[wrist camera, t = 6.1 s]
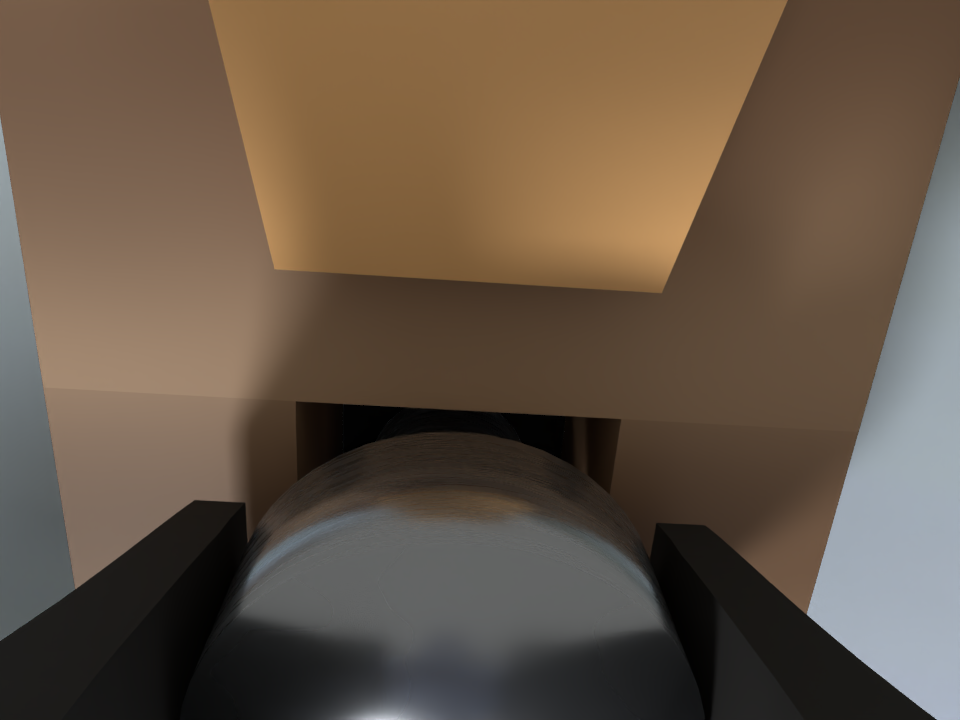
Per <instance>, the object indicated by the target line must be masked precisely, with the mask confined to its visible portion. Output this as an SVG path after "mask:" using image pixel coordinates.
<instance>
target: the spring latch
mask: <svg viewBox="0 0 960 720" xmlns="http://www.w3.org/2000/svg"><path fill="white" fill-rule="evenodd" d="M208 1H209V5H210V9H211V13H212V17H213V21H214V26H215V30H216V34H217V38H218V42H219V46H220V50H221V54H222V58H223V62H224V66H225V70H226V74H227V78H228V82H229V86H230V91H231V95H232V99H233V103H234V107H235V111H236V115H237V119H238V123H239V127H240V131H241V135H242V139H243V143H244V147H245V151H246V156H247V160H248V164H249V168H250V172H251V176H252V180H253V184H254V188H255V192H256V196H257V200H258V204H259V208H260V212H261V217H262V221H263V225H264V229H265V233H266V237H267V241H268V245H269V249H270V253H271V257H272V261H273V265H274V269H277V270H293V271H310V272H326V273H342V274H358V275H375V276H391V277H407V278H423V279H440V280H456V281H472V282H488V283H504V284H521V285H537V286H553V287H569V288H586V289H602V290H618V291H634V292H651V293H662V291H663V289H664V287H665V284H666V282H667V280H668V277H669V275H670V273H671V270H672V268H673V266H674V263H675V261H676V259H677V256H678V254H679V252H680V249H681V247H682V245H683V243H684V240H685V238H686V236H687V233H688V231H689V229H690V226H691V224H692V222H693V219H694V217H695V215H696V212H697V210H698V208H699V205H700V203H701V201H702V198H703V196H704V194H705V191H706V189H707V187H708V184H709V182H710V180H711V177H712V175H713V173H714V171H715V168H716V166H717V164H718V161H719V159H720V157H721V154H722V152H723V150H724V147H725V145H726V143H727V140H728V138H729V136H730V133H731V131H732V129H733V126H734V124H735V122H736V119H737V117H738V115H739V112H740V110H741V108H742V105H743V103H744V101H745V99H746V96H747V94H748V92H749V89H750V87H751V85H752V82H753V80H754V78H755V75H756V73H757V71H758V68H759V66H760V64H761V61H762V59H763V57H764V54H765V52H766V50H767V47H768V45H769V43H770V40H771V38H772V36H773V33H774V31H775V29H776V27H777V24H778V22H779V20H780V17H781V15H782V13H783V10H784V8H785V6H786V3H787V1H788V0H208Z"/></svg>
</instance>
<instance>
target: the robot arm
mask: <svg viewBox="0 0 960 720" xmlns="http://www.w3.org/2000/svg"><path fill="white" fill-rule="evenodd" d="M247 544H248V540H247V522H246V503H245V502H225V501H204V500H194V501H193V502H191V503H190V504H188V505H187V506H185V507H184V508H183V509H181V510H180V511H179V512H177V513H176V514H175V515H173V516H172V517H171V518H169V519H168V520H167V521H165V522H164V523H163V524H161V525H160V526H159V527H158V528H156V529H155V530H154V531H152V532H151V533H150V534H148V535H147V536H146V537H145V538H143V539H142V540H141V541H139V542H138V543H137V544H135V545H134V546H133V547H131V548H130V549H129V550H128V551H126V552H125V553H124V554H122V555H121V556H120V557H118V558H117V559H116V560H114V561H113V562H112V563H110V564H109V565H108V566H106V567H105V568H104V569H102V570H101V571H99V572H98V573H97V574H95V575H94V576H93V577H91V578H90V579H89V580H87V581H86V582H85V583H83V584H82V585H81V586H79V587H78V588H77V589H75V590H74V591H73V592H71V593H70V594H68V595H67V596H66V597H64V598H63V599H62V600H60V601H59V602H57V603H56V604H54V605H53V606H51V607H50V608H48V609H47V610H45V611H44V612H42V613H41V614H40V615H38V616H37V617H35V618H34V619H32V620H31V621H29V622H28V623H26V624H25V625H23V626H22V627H20V628H19V629H17V630H16V631H14V632H13V633H12V634H10V635H9V636H7V637H6V638H4V639H3V640H1V641H0V720H180V714H181V708H182V704H183V701H184V698H185V695H186V692H187V689H188V686H189V683H190V680H191V678H192V676H193V673H194V671H195V668H196V666H197V663H198V661H199V659H200V656H201V654H202V651H203V649H204V647H205V644H206V642H207V639H208V637H209V635H210V632H211V630H212V627H213V625H214V622H215V620H216V618H217V615H218V613H219V610H220V608H221V606H222V603H223V601H224V598H225V596H226V593H227V591H228V589H229V586H230V584H231V581H232V579H233V577H234V574H235V572H236V569H237V567H238V565H239V562H240V560H241V557H242V555H243V552H244V550H245V548H246V545H247ZM650 562H651V565H652V567H653V570H654V573H655V575H656V578H657V580H658V583H659V586H660V588H661V591H662V594H663V596H664V599H665V601H666V604H667V607H668V609H669V612H670V615H671V617H672V620H673V622H674V625H675V628H676V630H677V633H678V636H679V638H680V641H681V644H682V646H683V649H684V651H685V654H686V657H687V659H688V662H689V665H690V667H691V670H692V672H693V675H694V678H695V680H696V683H697V686H698V688H699V692H700V696H701V701H702V705H703V710H704V714H705V720H937V719H935V718H934V717H932V716H931V715H930V714H928V713H927V712H926V711H924V710H923V709H922V708H920V707H919V706H918V705H917V704H915V703H914V702H913V701H911V700H910V699H909V698H908V697H906V696H905V695H904V694H903V693H901V692H900V691H899V690H897V689H896V688H895V687H894V686H892V685H891V684H890V683H889V682H887V681H886V680H885V679H883V678H882V677H881V676H880V675H878V674H877V673H876V672H874V671H873V670H872V669H871V668H869V667H868V666H867V665H866V664H864V663H863V662H862V661H861V660H860V659H858V658H857V657H856V656H855V655H854V654H852V653H851V652H850V651H849V650H847V649H846V648H845V647H844V646H843V645H841V644H840V643H839V642H838V641H837V640H836V639H834V638H833V637H832V636H831V635H830V634H828V633H827V632H826V631H825V630H824V629H823V628H821V627H820V626H819V625H818V624H817V623H816V622H815V621H813V620H812V619H811V618H810V617H809V616H808V615H806V614H805V613H804V612H803V611H802V610H801V609H800V608H798V607H797V606H796V605H795V604H794V603H793V602H792V601H791V600H789V599H788V598H787V597H786V596H785V595H784V594H783V593H782V592H780V591H779V590H778V589H777V588H776V587H775V586H774V585H773V584H772V583H770V582H769V581H768V580H767V579H766V578H765V577H764V576H763V575H762V574H760V573H759V572H758V571H757V570H756V569H755V568H754V567H753V566H752V565H751V564H749V563H748V562H747V561H746V560H745V559H744V558H743V557H742V556H741V555H739V554H738V553H737V552H736V551H735V550H734V549H733V548H732V547H731V546H729V545H728V544H727V543H726V542H725V541H724V540H723V539H721V538H720V537H719V536H718V535H717V534H716V533H714V532H713V531H712V530H711V529H709V528H708V527H707V526H706V525H693V524H672V523H656V527H655V533H654V538H653V544H652V549H651V555H650Z"/></svg>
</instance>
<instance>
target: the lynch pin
mask: <svg viewBox="0 0 960 720" xmlns="http://www.w3.org/2000/svg"><path fill="white" fill-rule="evenodd" d="M180 720H705V714H704V710H703V705H702V701H701V696H700V692H699V688H698V686H697V683H696V680H695V678H694V675H693V672H692V670H691V667H690V665H689V662H688V659H687V657H686V654H685V651H684V649H683V646H682V644H681V641H680V638H679V636H678V633H677V630H676V628H675V625H674V622H673V620H672V617H671V615H670V612H669V609H668V607H667V604H666V601H665V599H664V596H663V594H662V591H661V588H660V586H659V583H658V580H657V578H656V575H655V573H654V570H653V567H652V565H651V562H650V559H649V557H648V554H647V552H646V550H645V547H644V545H643V542H642V540H641V538H640V535H639V534H638V532H637V530H636V529H635V527H634V525H633V524H632V522H631V521H630V519H629V517H628V516H627V514H626V513H625V512H624V511H623V509H622V508H621V507H620V506H619V505H618V504H617V502H616V501H615V500H614V499H613V498H612V497H611V495H610V494H608V493H607V492H606V491H605V490H604V489H603V488H602V487H601V486H599V485H598V484H597V483H596V482H595V481H594V480H593V479H591V478H590V477H589V476H587V475H586V474H584V473H583V472H581V471H580V470H578V469H577V468H575V467H574V466H572V465H571V464H569V463H568V462H565V461H563V460H561V459H559V458H557V457H555V456H553V455H551V454H549V453H547V452H545V451H543V450H540V449H537V448H534V447H532V446H529V445H526V444H523V443H521V440H520V438H519V436H518V434H517V433H516V431H515V429H514V428H513V426H512V425H511V424H510V423H509V422H508V421H507V420H506V419H505V418H504V417H503V416H502V415H501V414H500V413H498V412H483V411H465V410H446V409H428V408H410V407H406V408H405V409H403V410H401V411H400V412H399V413H397V414H396V415H395V416H394V417H393V418H392V419H391V420H390V421H389V422H388V423H387V424H386V425H385V426H384V428H383V429H382V430H381V432H380V434H379V436H378V437H377V440H376V442H374V443H370V444H366V445H363V446H361V447H359V448H356V449H354V450H351V451H349V452H346V453H344V454H341V455H339V456H337V457H335V458H333V459H331V460H330V461H328V462H326V463H324V464H322V465H321V466H319V467H317V468H315V469H314V470H312V471H311V472H310V473H308V474H307V475H306V476H304V477H303V478H301V479H300V480H299V481H297V482H296V483H295V484H293V485H292V486H291V487H290V488H289V489H288V490H287V491H286V492H285V493H284V494H283V495H282V496H281V497H280V498H279V499H278V500H277V501H276V502H275V503H274V504H273V505H272V506H271V508H270V509H269V510H268V512H267V513H266V514H265V516H264V517H263V518H262V520H261V521H260V522H259V524H258V525H257V527H256V529H255V530H254V532H253V534H252V536H251V538H250V540H249V542H248V544H247V545H246V548H245V550H244V552H243V555H242V557H241V560H240V562H239V565H238V567H237V569H236V572H235V574H234V577H233V579H232V581H231V584H230V586H229V589H228V591H227V593H226V596H225V598H224V601H223V603H222V606H221V608H220V610H219V613H218V615H217V618H216V620H215V622H214V625H213V627H212V630H211V632H210V635H209V637H208V639H207V642H206V644H205V647H204V649H203V651H202V654H201V656H200V659H199V661H198V663H197V666H196V668H195V671H194V673H193V676H192V678H191V680H190V683H189V686H188V689H187V692H186V695H185V698H184V701H183V704H182V708H181V714H180Z"/></svg>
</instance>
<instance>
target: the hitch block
mask: <svg viewBox="0 0 960 720" xmlns="http://www.w3.org/2000/svg"><path fill="white" fill-rule="evenodd" d="M959 77H960V0H788V1H787V3H786V6H785V8H784V10H783V13H782V15H781V17H780V20H779V22H778V24H777V27H776V29H775V31H774V33H773V36H772V38H771V40H770V43H769V45H768V47H767V50H766V52H765V54H764V57H763V59H762V61H761V64H760V66H759V68H758V71H757V73H756V75H755V78H754V80H753V82H752V85H751V87H750V89H749V92H748V94H747V96H746V99H745V101H744V103H743V105H742V108H741V110H740V112H739V115H738V117H737V119H736V122H735V124H734V126H733V129H732V131H731V133H730V136H729V138H728V140H727V143H726V145H725V147H724V150H723V152H722V154H721V157H720V159H719V161H718V164H717V166H716V168H715V171H714V173H713V175H712V177H711V180H710V182H709V184H708V187H707V189H706V191H705V194H704V196H703V198H702V201H701V203H700V205H699V208H698V210H697V212H696V215H695V217H694V219H693V222H692V224H691V226H690V229H689V231H688V233H687V236H686V238H685V240H684V243H683V245H682V247H681V249H680V252H679V254H678V256H677V259H676V261H675V263H674V266H673V268H672V270H671V273H670V275H669V277H668V280H667V282H666V284H665V287H664V289H663V291H662V293H651V292H634V291H618V290H602V289H586V288H569V287H553V286H537V285H521V284H504V283H488V282H472V281H456V280H440V279H423V278H407V277H391V276H375V275H358V274H342V273H326V272H310V271H293V270H277V269H274V265H273V261H272V257H271V253H270V249H269V245H268V241H267V237H266V233H265V229H264V225H263V221H262V217H261V212H260V208H259V204H258V200H257V196H256V192H255V188H254V184H253V180H252V176H251V172H250V168H249V164H248V160H247V156H246V151H245V147H244V143H243V139H242V135H241V131H240V127H239V123H238V119H237V115H236V111H235V107H234V103H233V99H232V95H231V91H230V86H229V82H228V78H227V74H226V70H225V66H224V62H223V58H222V54H221V50H220V46H219V42H218V38H217V34H216V30H215V26H214V21H213V17H212V13H211V9H210V5H209V1H208V0H0V117H1V123H2V130H3V136H4V142H5V149H6V155H7V161H8V168H9V174H10V180H11V187H12V193H13V199H14V205H15V212H16V218H17V224H18V231H19V237H20V243H21V250H22V256H23V262H24V269H25V275H26V281H27V288H28V294H29V300H30V307H31V313H32V319H33V326H34V332H35V338H36V344H37V351H38V357H39V363H40V370H41V376H42V382H43V389H44V395H45V401H46V408H47V414H48V420H49V427H50V433H51V439H52V446H53V452H54V458H55V464H56V471H57V477H58V483H59V490H60V496H61V502H62V509H63V515H64V521H65V528H66V534H67V540H68V547H69V553H70V559H71V566H72V572H73V578H74V585H75V589H77V588H78V587H79V586H81V585H82V584H83V583H85V582H86V581H87V580H89V579H90V578H91V577H93V576H94V575H95V574H97V573H98V572H99V571H101V570H102V569H104V568H105V567H106V566H108V565H109V564H110V563H112V562H113V561H114V560H116V559H117V558H118V557H120V556H121V555H122V554H124V553H125V552H126V551H128V550H129V549H130V548H131V547H133V546H134V545H135V544H137V543H138V542H139V541H141V540H142V539H143V538H145V537H146V536H147V535H148V534H150V533H151V532H152V531H154V530H155V529H156V528H158V527H159V526H160V525H161V524H163V523H164V522H165V521H167V520H168V519H169V518H171V517H172V516H173V515H175V514H176V513H177V512H179V511H180V510H181V509H183V508H184V507H185V506H187V505H188V504H190V503H191V502H193V501H194V500H204V501H225V502H245V503H246V522H247V540H248V542H249V540H250V538H251V536H252V534H253V532H254V530H255V529H256V527H257V525H258V524H259V522H260V521H261V520H262V518H263V517H264V516H265V514H266V513H267V512H268V510H269V509H270V508H271V506H272V505H273V504H274V503H275V502H276V501H277V500H278V499H279V498H280V497H281V496H282V495H283V494H284V493H285V492H286V491H287V490H288V489H289V488H290V487H291V486H292V485H293V484H295V483H296V482H297V481H299V480H300V479H301V478H303V477H304V476H306V475H307V474H308V473H310V472H311V471H312V470H314V469H315V468H317V467H319V466H321V465H322V464H324V463H326V462H328V461H330V460H331V459H333V458H335V457H337V456H339V455H341V454H343V404H355V405H373V406H391V407H410V408H428V409H446V410H465V411H483V412H501V413H520V414H538V415H556V416H565V423H564V431H563V439H562V448H561V456H560V459H561V460H563V461H565V462H568V463H569V464H571V465H572V466H574V467H575V468H577V469H578V470H580V471H581V472H583V473H584V474H586V475H587V476H589V477H590V478H591V479H593V480H594V481H595V482H596V483H597V484H598V485H599V486H601V487H602V488H603V489H604V490H605V491H606V492H607V493H608V494H610V495H611V497H612V498H613V499H614V500H615V501H616V502H617V504H618V505H619V506H620V507H621V508H622V509H623V511H624V512H625V513H626V514H627V516H628V517H629V519H630V521H631V522H632V524H633V525H634V527H635V529H636V530H637V532H638V534H639V535H640V538H641V540H642V542H643V545H644V547H645V550H646V552H647V554H648V557H649V559H650V555H651V549H652V544H653V538H654V533H655V527H656V523H672V524H693V525H706V526H707V527H708V528H709V529H711V530H712V531H713V532H714V533H716V534H717V535H718V536H719V537H720V538H721V539H723V540H724V541H725V542H726V543H727V544H728V545H729V546H731V547H732V548H733V549H734V550H735V551H736V552H737V553H738V554H739V555H741V556H742V557H743V558H744V559H745V560H746V561H747V562H748V563H749V564H751V565H752V566H753V567H754V568H755V569H756V570H757V571H758V572H759V573H760V574H762V575H763V576H764V577H765V578H766V579H767V580H768V581H769V582H770V583H772V584H773V585H774V586H775V587H776V588H777V589H778V590H779V591H780V592H782V593H783V594H784V595H785V596H786V597H787V598H788V599H789V600H791V601H792V602H793V603H794V604H795V605H796V606H797V607H798V608H800V609H801V610H802V611H803V612H804V613H805V614H807V611H808V607H809V604H810V600H811V597H812V593H813V590H814V586H815V583H816V579H817V576H818V572H819V568H820V565H821V561H822V558H823V554H824V551H825V547H826V544H827V540H828V537H829V533H830V530H831V526H832V523H833V519H834V516H835V512H836V509H837V505H838V502H839V498H840V495H841V491H842V488H843V484H844V481H845V477H846V474H847V470H848V467H849V463H850V460H851V456H852V453H853V449H854V446H855V442H856V439H857V435H858V432H859V428H860V425H861V421H862V418H863V414H864V411H865V407H866V404H867V400H868V397H869V393H870V390H871V386H872V383H873V379H874V376H875V372H876V369H877V365H878V362H879V358H880V355H881V351H882V347H883V344H884V340H885V337H886V333H887V330H888V326H889V323H890V319H891V316H892V312H893V309H894V305H895V302H896V298H897V295H898V291H899V288H900V284H901V281H902V277H903V274H904V270H905V267H906V263H907V260H908V256H909V253H910V249H911V246H912V242H913V239H914V235H915V232H916V228H917V225H918V221H919V218H920V214H921V211H922V207H923V204H924V200H925V197H926V193H927V190H928V186H929V183H930V179H931V176H932V172H933V169H934V165H935V162H936V158H937V155H938V151H939V148H940V144H941V141H942V137H943V134H944V130H945V126H946V123H947V119H948V116H949V112H950V109H951V105H952V102H953V98H954V95H955V91H956V88H957V84H958V81H959Z"/></svg>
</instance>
